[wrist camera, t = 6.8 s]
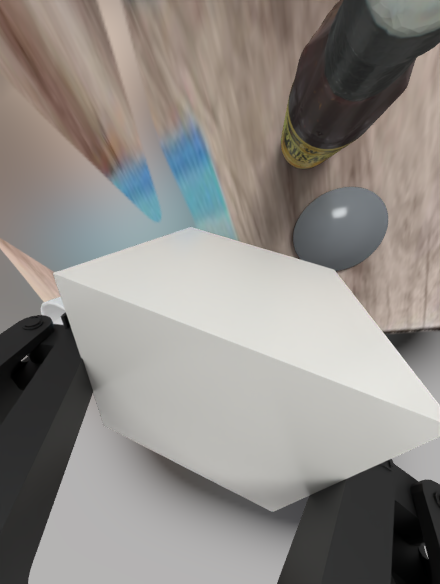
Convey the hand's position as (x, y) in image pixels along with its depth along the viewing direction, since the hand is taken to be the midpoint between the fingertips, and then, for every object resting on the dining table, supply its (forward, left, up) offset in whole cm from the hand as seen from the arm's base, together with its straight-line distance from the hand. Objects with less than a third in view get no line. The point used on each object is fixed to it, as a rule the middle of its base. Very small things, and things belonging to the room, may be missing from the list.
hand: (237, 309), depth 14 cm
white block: (0, 0, -1) cm, 1 cm away
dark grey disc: (-5, +9, -18) cm, 21 cm away
